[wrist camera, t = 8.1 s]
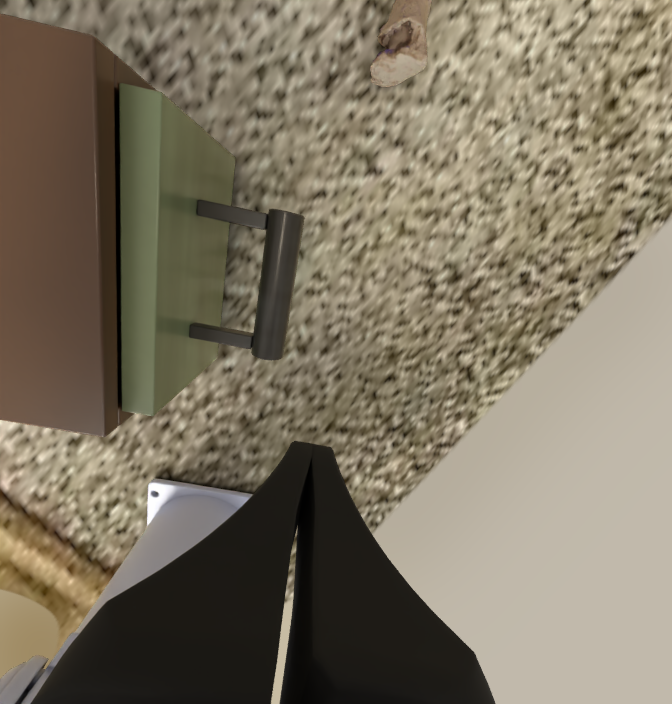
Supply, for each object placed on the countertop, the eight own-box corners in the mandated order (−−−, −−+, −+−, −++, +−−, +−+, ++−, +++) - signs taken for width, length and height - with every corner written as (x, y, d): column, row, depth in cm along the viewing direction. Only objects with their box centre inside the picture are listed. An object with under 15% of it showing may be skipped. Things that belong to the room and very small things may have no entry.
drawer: (319, 175, 16) (307, 124, 9) (287, 371, 19) (261, 436, 12) (-36, 97, 15) (-329, -22, 8) (-7, 316, 18) (-204, 354, 11)
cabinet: (218, 143, 16) (93, 33, 8) (202, 358, 20) (104, 438, 11) (-68, 79, 15) (-535, -115, 7) (-31, 315, 19) (-315, 367, 11)
